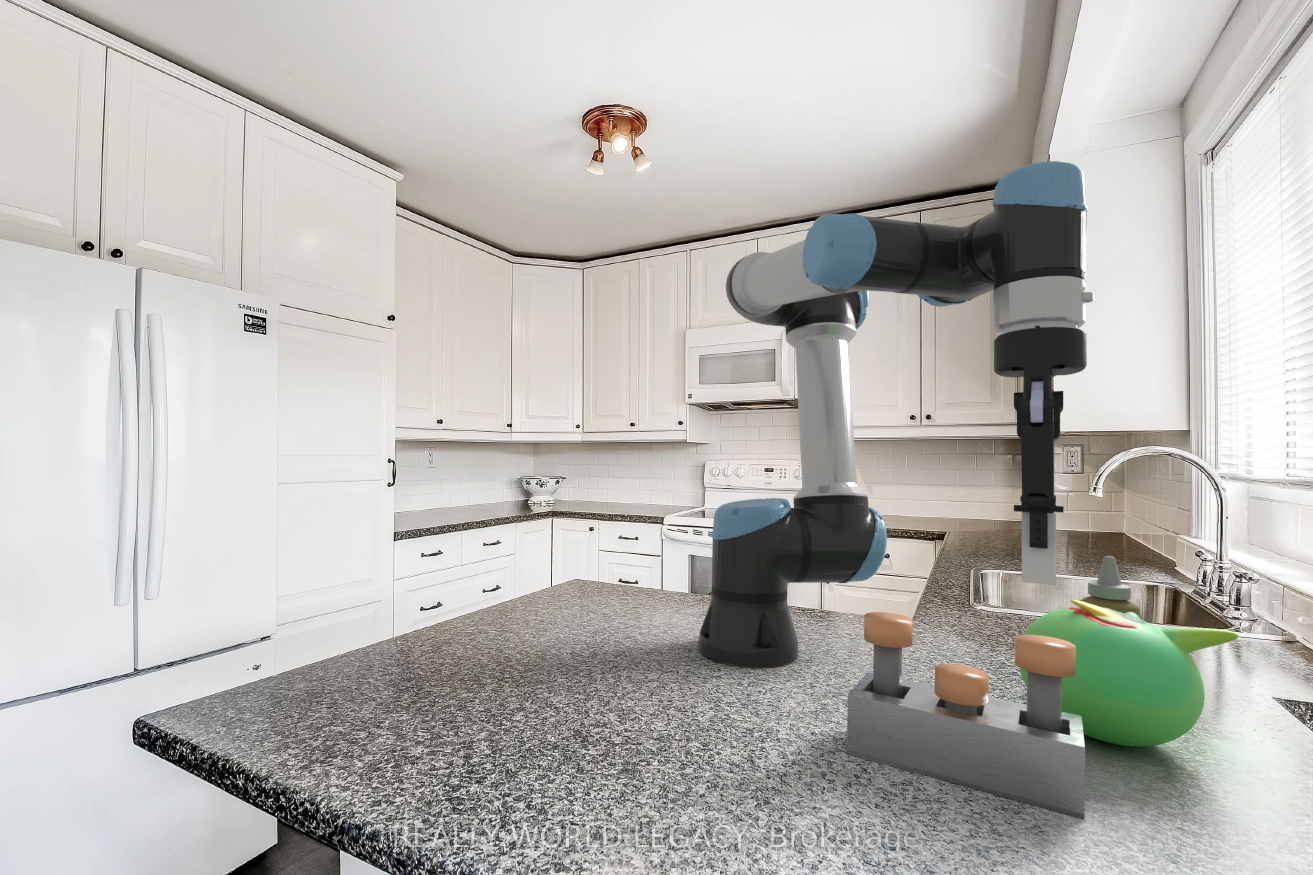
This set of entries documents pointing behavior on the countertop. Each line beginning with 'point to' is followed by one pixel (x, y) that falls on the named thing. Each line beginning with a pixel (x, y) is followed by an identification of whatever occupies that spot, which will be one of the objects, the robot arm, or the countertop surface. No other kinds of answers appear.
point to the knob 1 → (888, 649)
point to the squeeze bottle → (1110, 590)
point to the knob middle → (961, 687)
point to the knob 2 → (1045, 677)
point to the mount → (970, 745)
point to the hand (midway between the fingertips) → (1038, 582)
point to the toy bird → (1129, 673)
